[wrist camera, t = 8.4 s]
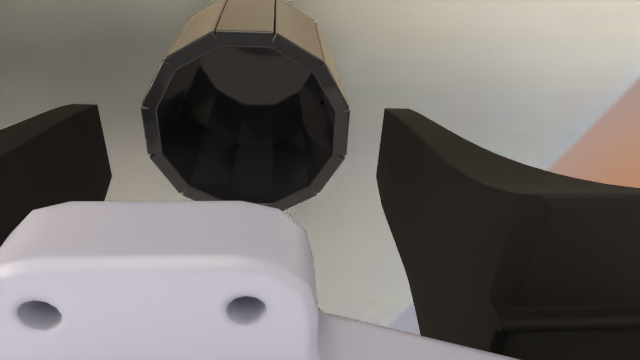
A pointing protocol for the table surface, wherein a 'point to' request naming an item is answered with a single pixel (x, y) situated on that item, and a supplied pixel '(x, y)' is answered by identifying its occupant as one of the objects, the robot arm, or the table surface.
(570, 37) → the table surface
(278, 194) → the dark grey cup
